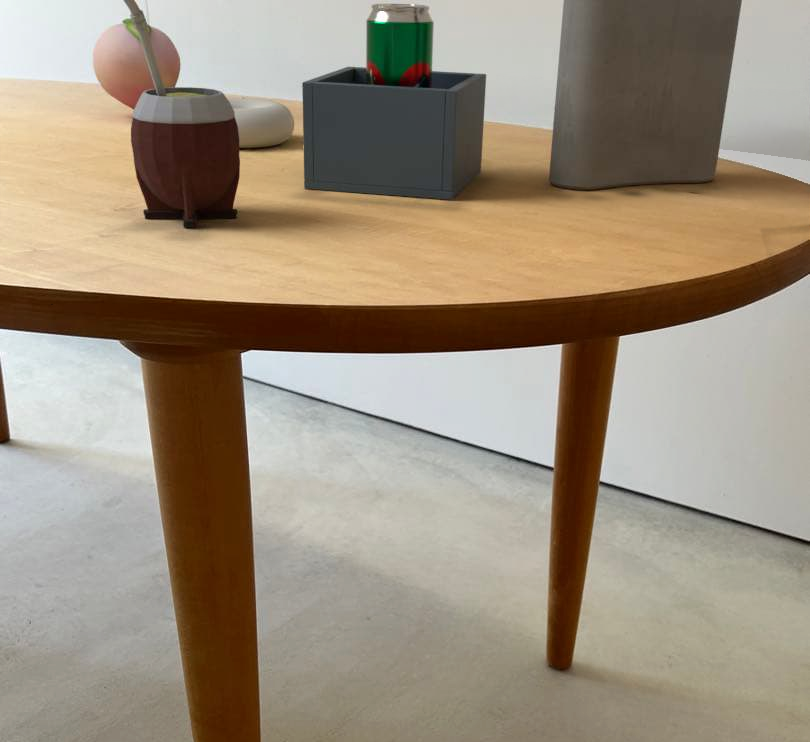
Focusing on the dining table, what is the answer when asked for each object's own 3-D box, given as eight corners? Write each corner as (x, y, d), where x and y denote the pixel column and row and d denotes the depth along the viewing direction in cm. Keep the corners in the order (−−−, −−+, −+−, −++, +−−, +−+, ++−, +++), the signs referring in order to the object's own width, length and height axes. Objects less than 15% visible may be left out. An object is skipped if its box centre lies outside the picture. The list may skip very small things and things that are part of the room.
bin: (481, 172, 92) (486, 73, 89) (451, 200, 83) (456, 91, 79) (347, 162, 95) (347, 66, 91) (304, 188, 85) (301, 82, 81)
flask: (685, 168, 96) (722, -98, 86) (726, 181, 91) (770, -99, 82) (532, 177, 91) (553, -105, 81) (568, 192, 86) (595, -106, 76)
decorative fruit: (89, 112, 116) (78, 6, 111) (166, 109, 119) (158, 6, 115) (111, 125, 109) (100, 13, 104) (192, 121, 112) (185, 12, 107)
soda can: (433, 168, 90) (439, 4, 85) (422, 179, 86) (427, 8, 80) (373, 164, 91) (375, 2, 85) (358, 175, 87) (359, 5, 81)
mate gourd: (242, 205, 79) (231, -30, 72) (243, 232, 72) (231, -26, 65) (135, 206, 78) (114, -33, 71) (126, 232, 72) (101, -29, 64)
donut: (306, 151, 100) (282, 131, 108) (305, 110, 98) (281, 93, 106) (194, 154, 97) (179, 133, 105) (192, 112, 95) (176, 94, 104)
